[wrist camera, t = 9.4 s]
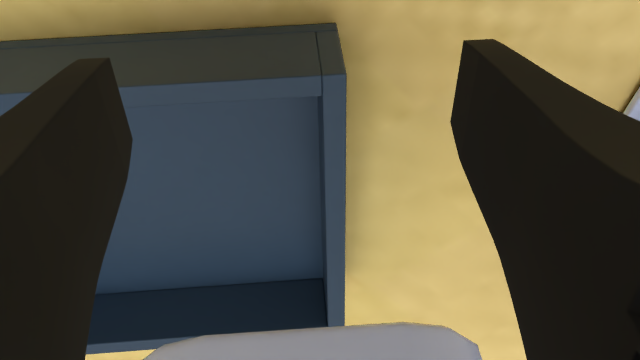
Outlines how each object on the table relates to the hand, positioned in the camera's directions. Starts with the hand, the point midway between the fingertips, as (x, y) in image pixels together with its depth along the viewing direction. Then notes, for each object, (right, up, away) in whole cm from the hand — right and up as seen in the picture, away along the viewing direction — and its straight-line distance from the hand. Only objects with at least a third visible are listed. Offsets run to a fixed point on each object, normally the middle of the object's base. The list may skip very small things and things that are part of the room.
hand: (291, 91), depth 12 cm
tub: (-6, -2, +14) cm, 15 cm away
